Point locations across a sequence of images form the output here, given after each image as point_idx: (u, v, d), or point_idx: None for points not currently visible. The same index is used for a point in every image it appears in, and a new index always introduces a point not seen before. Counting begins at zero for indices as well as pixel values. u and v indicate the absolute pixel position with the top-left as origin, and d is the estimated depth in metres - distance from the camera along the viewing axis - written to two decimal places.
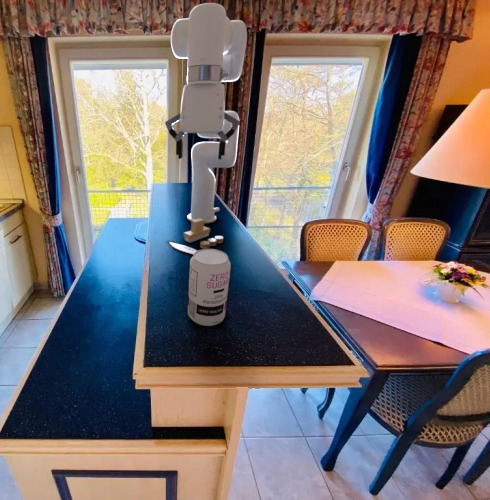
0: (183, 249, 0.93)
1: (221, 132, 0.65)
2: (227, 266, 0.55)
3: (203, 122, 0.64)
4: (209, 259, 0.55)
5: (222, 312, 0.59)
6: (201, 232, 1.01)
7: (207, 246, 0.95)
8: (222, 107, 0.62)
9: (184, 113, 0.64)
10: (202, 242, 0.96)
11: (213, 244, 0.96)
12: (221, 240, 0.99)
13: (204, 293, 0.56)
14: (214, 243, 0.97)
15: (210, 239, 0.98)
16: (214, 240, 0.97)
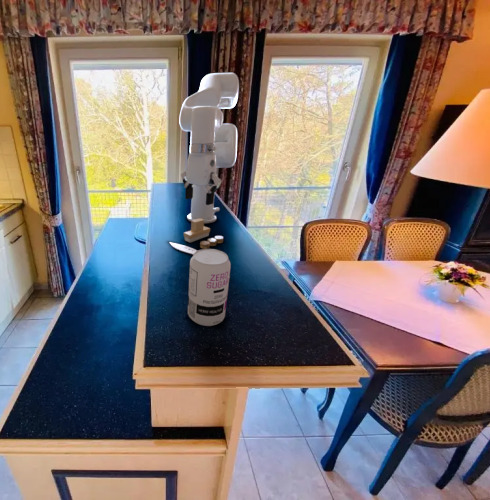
0: (183, 249, 0.93)
1: (207, 186, 0.90)
2: (227, 266, 0.55)
3: (196, 178, 0.92)
4: (209, 259, 0.55)
5: (222, 312, 0.59)
6: (201, 232, 1.01)
7: (207, 246, 0.95)
8: (206, 170, 0.88)
9: (187, 171, 0.94)
10: (202, 242, 0.96)
11: (213, 244, 0.96)
12: (221, 240, 0.99)
13: (204, 293, 0.56)
14: (214, 243, 0.97)
15: (210, 239, 0.98)
16: (214, 240, 0.97)
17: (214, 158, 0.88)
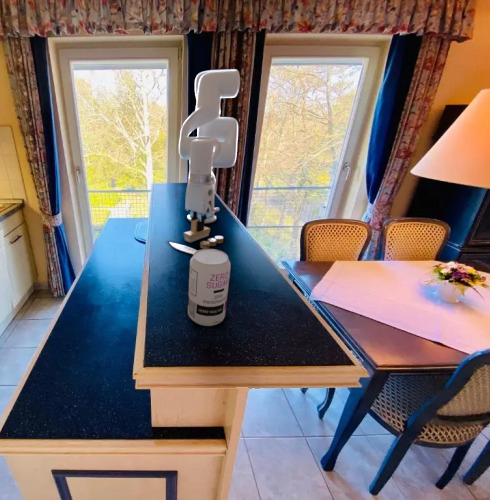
0: (183, 249, 0.93)
1: (200, 215, 0.97)
2: (227, 266, 0.55)
3: (195, 206, 0.96)
4: (209, 259, 0.55)
5: (222, 312, 0.59)
6: (201, 232, 1.01)
7: (207, 246, 0.95)
8: (204, 199, 0.92)
9: (186, 198, 0.99)
10: (202, 242, 0.96)
11: (213, 244, 0.96)
12: (221, 240, 0.99)
13: (204, 293, 0.56)
14: (214, 243, 0.97)
15: (210, 239, 0.98)
16: (214, 240, 0.97)
17: (212, 188, 0.92)
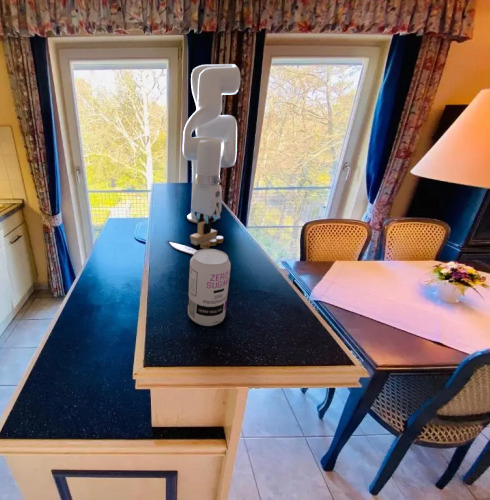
0: (183, 249, 0.93)
1: (207, 217, 0.94)
2: (227, 266, 0.55)
3: (202, 207, 0.94)
4: (209, 259, 0.55)
5: (222, 312, 0.59)
6: (208, 234, 0.99)
7: (207, 246, 0.95)
8: (212, 201, 0.90)
9: (193, 199, 0.96)
10: (202, 242, 0.96)
11: (213, 244, 0.96)
12: (221, 240, 0.99)
13: (204, 293, 0.56)
14: (214, 243, 0.97)
15: (210, 239, 0.98)
16: (214, 240, 0.97)
17: (219, 189, 0.90)
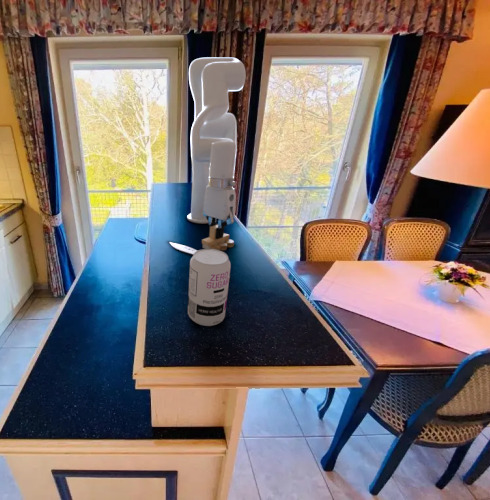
0: (183, 249, 0.93)
1: (220, 222, 0.91)
2: (227, 266, 0.55)
3: (214, 211, 0.90)
4: (209, 259, 0.55)
5: (222, 312, 0.59)
6: (220, 239, 0.95)
7: None
8: (226, 205, 0.86)
9: (205, 203, 0.92)
10: (212, 246, 0.92)
11: (223, 248, 0.93)
12: (232, 244, 0.95)
13: (204, 293, 0.56)
14: (225, 247, 0.93)
15: (220, 243, 0.95)
16: (225, 244, 0.94)
17: (233, 192, 0.86)
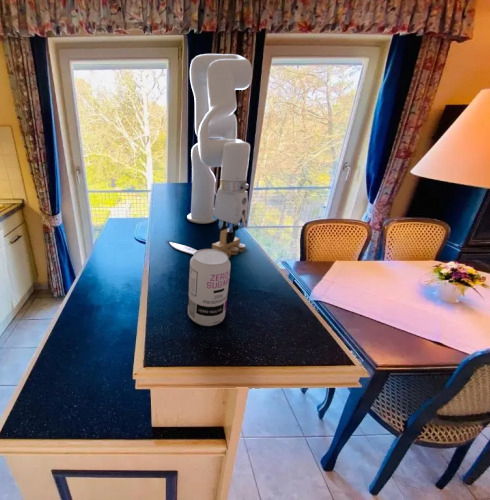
0: (183, 249, 0.93)
1: (231, 226, 0.87)
2: (227, 266, 0.55)
3: (226, 215, 0.87)
4: (209, 259, 0.55)
5: (222, 312, 0.59)
6: (231, 243, 0.92)
7: (228, 255, 0.88)
8: (238, 208, 0.83)
9: (215, 206, 0.89)
10: (223, 251, 0.89)
11: (235, 252, 0.90)
12: (243, 248, 0.92)
13: (204, 293, 0.56)
14: (236, 252, 0.90)
15: (231, 247, 0.92)
16: (236, 248, 0.91)
17: (246, 195, 0.83)
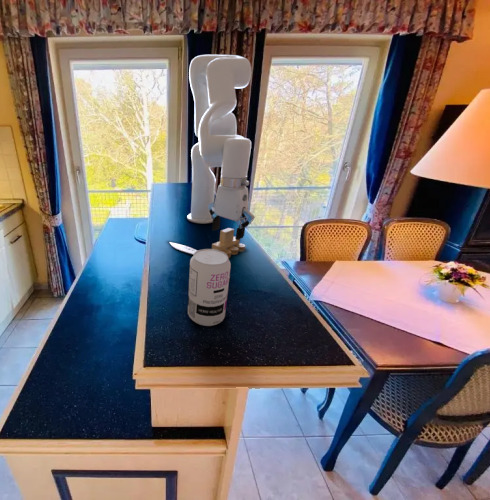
0: (183, 249, 0.93)
1: (238, 221, 0.85)
2: (227, 266, 0.55)
3: (226, 212, 0.87)
4: (209, 259, 0.55)
5: (222, 312, 0.59)
6: (231, 243, 0.92)
7: (228, 255, 0.88)
8: (238, 205, 0.83)
9: (216, 203, 0.89)
10: (223, 251, 0.89)
11: (235, 252, 0.90)
12: (243, 248, 0.92)
13: (204, 293, 0.56)
14: (236, 252, 0.90)
15: (231, 247, 0.92)
16: (236, 248, 0.91)
17: (247, 192, 0.83)
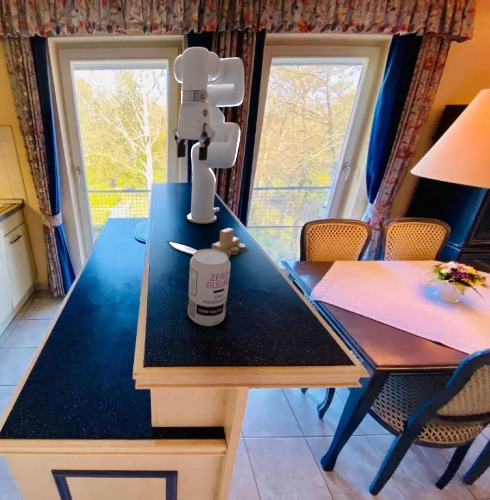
0: (183, 249, 0.93)
1: (200, 139, 0.84)
2: (227, 266, 0.55)
3: (188, 131, 0.85)
4: (209, 259, 0.55)
5: (222, 312, 0.59)
6: (231, 243, 0.92)
7: (228, 255, 0.88)
8: (199, 120, 0.81)
9: (179, 124, 0.88)
10: (223, 251, 0.89)
11: (235, 252, 0.90)
12: (243, 248, 0.92)
13: (204, 293, 0.56)
14: (236, 252, 0.90)
15: (231, 247, 0.92)
16: (236, 248, 0.91)
17: (207, 107, 0.82)
